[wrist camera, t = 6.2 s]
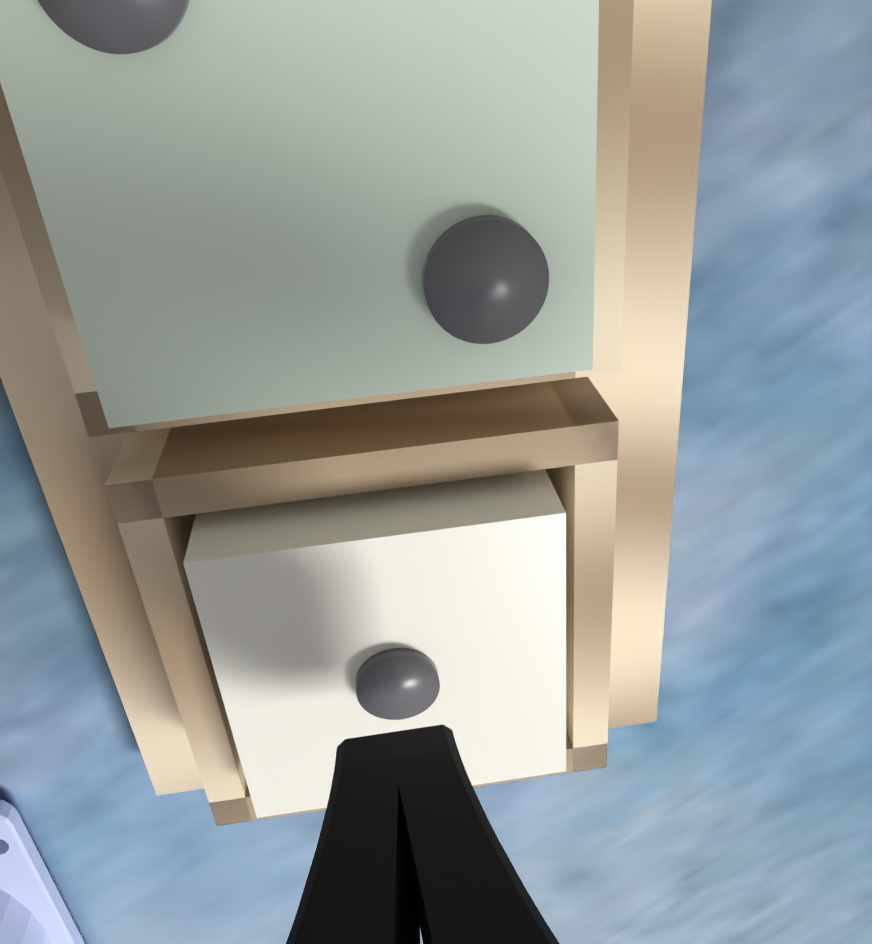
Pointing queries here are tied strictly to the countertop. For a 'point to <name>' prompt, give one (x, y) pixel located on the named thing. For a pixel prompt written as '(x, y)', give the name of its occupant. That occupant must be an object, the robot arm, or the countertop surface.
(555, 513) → the tile one
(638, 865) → the countertop surface
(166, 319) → the tile two
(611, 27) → the tile board
